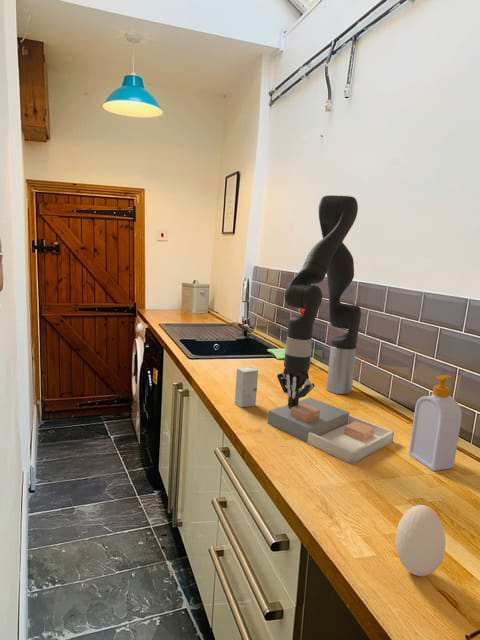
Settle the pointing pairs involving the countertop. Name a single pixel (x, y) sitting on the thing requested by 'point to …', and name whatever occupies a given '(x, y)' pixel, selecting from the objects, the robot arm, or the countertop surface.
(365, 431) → the tile
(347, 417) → the board
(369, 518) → the countertop surface
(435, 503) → the countertop surface
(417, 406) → the soap bottle
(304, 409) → the tile
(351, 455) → the tray
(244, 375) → the skincare box
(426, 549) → the egg
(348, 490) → the countertop surface
